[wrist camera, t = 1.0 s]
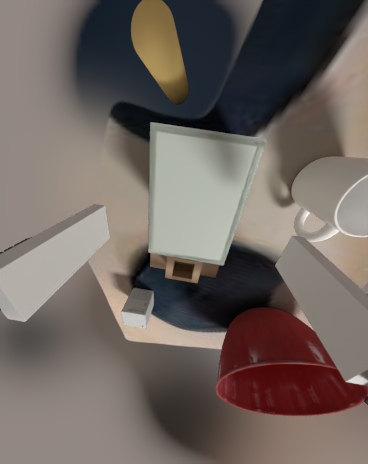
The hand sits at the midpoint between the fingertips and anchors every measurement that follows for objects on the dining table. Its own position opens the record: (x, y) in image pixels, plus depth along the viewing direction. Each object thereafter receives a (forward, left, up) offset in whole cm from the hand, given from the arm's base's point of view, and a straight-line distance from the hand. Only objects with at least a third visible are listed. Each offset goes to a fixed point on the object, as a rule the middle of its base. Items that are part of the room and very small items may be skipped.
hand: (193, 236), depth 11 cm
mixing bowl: (+36, +25, -19) cm, 48 cm away
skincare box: (+34, -10, -19) cm, 40 cm away
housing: (0, 0, -17) cm, 17 cm away
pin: (-12, -5, -18) cm, 23 cm away
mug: (-1, +19, -19) cm, 27 cm away
